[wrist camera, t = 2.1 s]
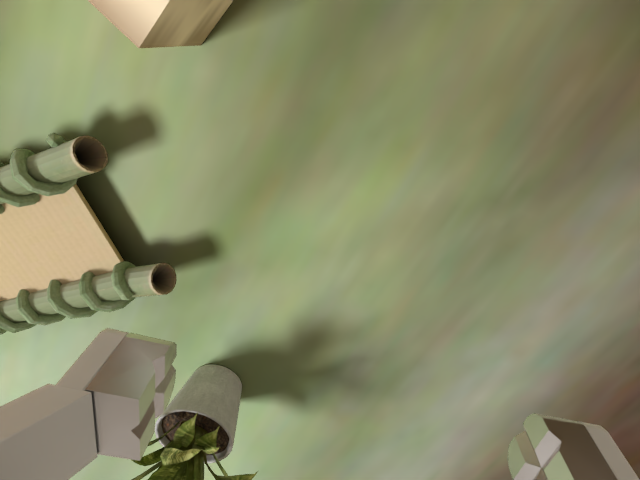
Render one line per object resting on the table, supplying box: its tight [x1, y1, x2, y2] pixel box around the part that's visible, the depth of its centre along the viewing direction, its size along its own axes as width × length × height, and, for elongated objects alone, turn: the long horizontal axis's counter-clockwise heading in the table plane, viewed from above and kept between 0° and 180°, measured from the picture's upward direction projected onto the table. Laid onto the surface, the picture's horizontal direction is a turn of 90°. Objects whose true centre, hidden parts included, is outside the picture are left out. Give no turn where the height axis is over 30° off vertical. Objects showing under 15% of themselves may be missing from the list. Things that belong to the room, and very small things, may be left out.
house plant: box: [131, 364, 257, 480], centre depth 33 cm, size 14×14×16 cm
